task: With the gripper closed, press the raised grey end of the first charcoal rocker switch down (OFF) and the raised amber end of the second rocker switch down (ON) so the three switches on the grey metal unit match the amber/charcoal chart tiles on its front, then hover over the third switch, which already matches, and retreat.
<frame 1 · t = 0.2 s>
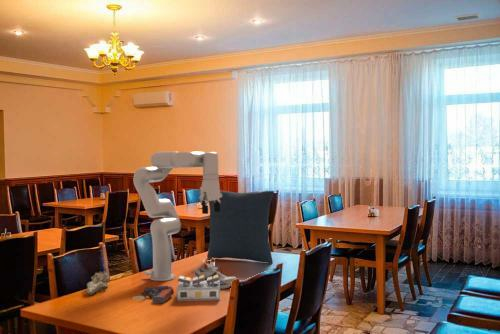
hand: (211, 212, 236), 37 cm above the table, tool pointing down, fingers open, 9 cm apart
skull: (96, 291, 234), on the table
switch 1: (184, 279, 222), point 8 cm above the table, hinge at 15.0°
pillow: (240, 261, 293), on the table
switch unit: (199, 296, 222), on the table
switch 2: (198, 279, 222), point 8 cm above the table, hinge at -15.0°
toy gun: (155, 298, 223), on the table
switch 3: (213, 278, 222), point 8 cm above the table, hinge at -15.0°
athletic shoe: (215, 286, 240), on the table
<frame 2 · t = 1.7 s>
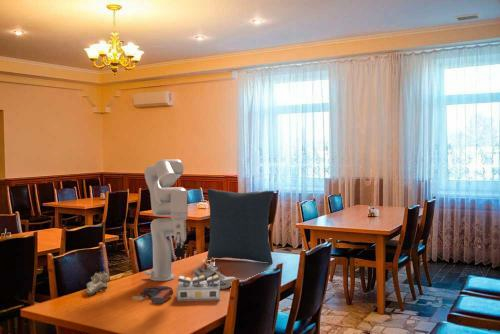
hand: (179, 255, 221), 20 cm above the table, tool pointing down, fingers open, 5 cm apart
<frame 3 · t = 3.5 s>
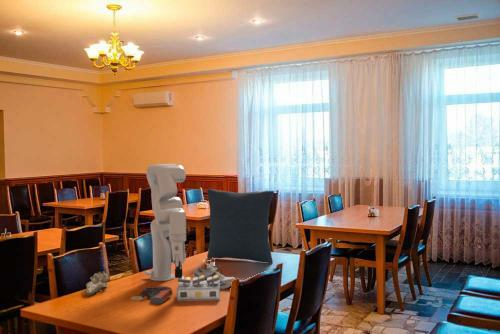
hand: (178, 277, 221), 9 cm above the table, tool pointing down, fingers closed
switch 1: (184, 279, 222), point 8 cm above the table, hinge at 9.1°, touching gripper
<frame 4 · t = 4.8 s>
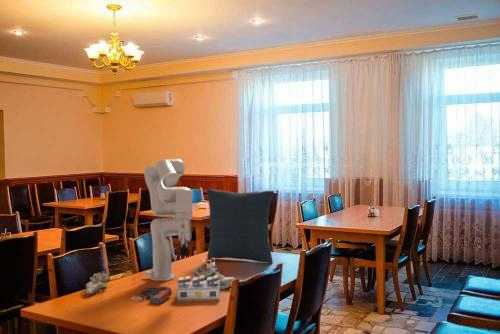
hand: (184, 255, 221), 19 cm above the table, tool pointing down, fingers closed
switch 1: (184, 279, 222), point 8 cm above the table, hinge at -7.4°
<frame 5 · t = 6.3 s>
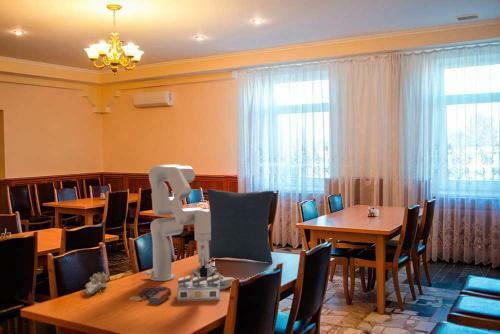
hand: (203, 276, 222), 9 cm above the table, tool pointing down, fingers closed
switch 1: (184, 279, 222), point 8 cm above the table, hinge at -11.8°
switch 2: (198, 279, 222), point 8 cm above the table, hinge at -14.9°, touching gripper
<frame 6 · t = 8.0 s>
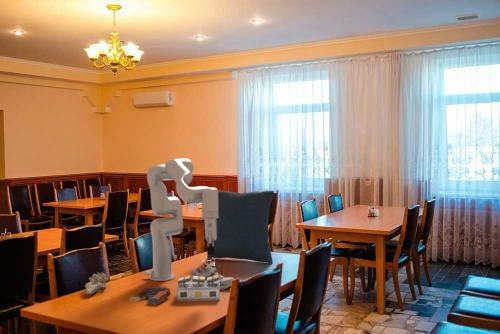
hand: (210, 254, 222), 19 cm above the table, tool pointing down, fingers closed
switch 1: (184, 279, 222), point 8 cm above the table, hinge at -13.3°
switch 2: (198, 279, 222), point 8 cm above the table, hinge at 6.3°
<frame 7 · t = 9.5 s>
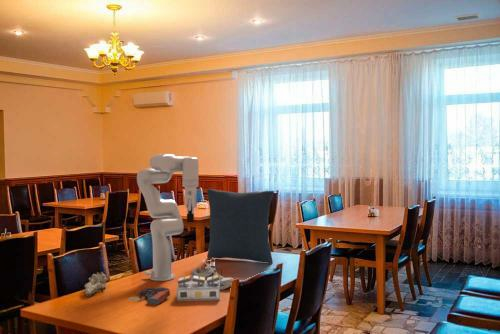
hand: (190, 221, 230), 33 cm above the table, tool pointing down, fingers closed
switch 1: (184, 279, 222), point 8 cm above the table, hinge at -13.7°
switch 2: (198, 279, 222), point 8 cm above the table, hinge at 11.7°
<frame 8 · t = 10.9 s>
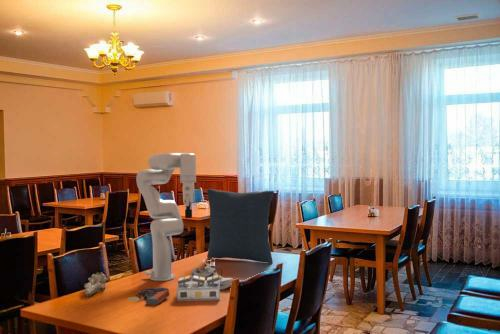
hand: (188, 217, 231), 35 cm above the table, tool pointing down, fingers closed
switch 2: (198, 279, 222), point 8 cm above the table, hinge at 13.4°
at the end: switch 1 at -14° (first picture: +15°); switch 2 at +14° (first picture: -15°); switch 3 at -15° (first picture: -15°) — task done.
